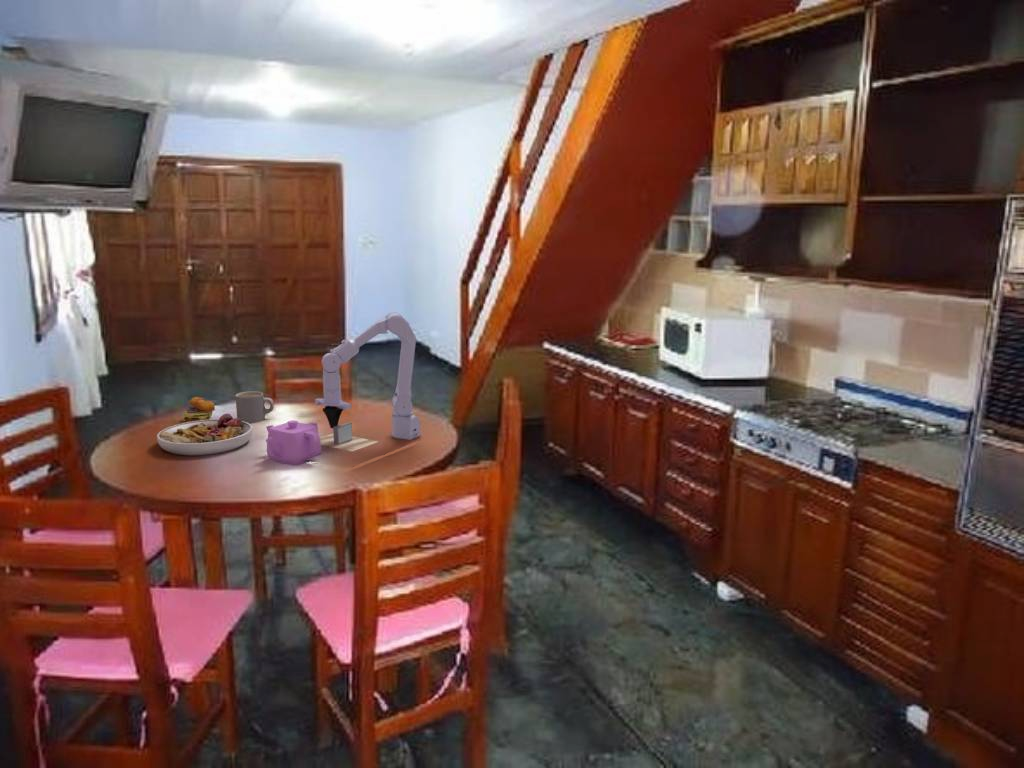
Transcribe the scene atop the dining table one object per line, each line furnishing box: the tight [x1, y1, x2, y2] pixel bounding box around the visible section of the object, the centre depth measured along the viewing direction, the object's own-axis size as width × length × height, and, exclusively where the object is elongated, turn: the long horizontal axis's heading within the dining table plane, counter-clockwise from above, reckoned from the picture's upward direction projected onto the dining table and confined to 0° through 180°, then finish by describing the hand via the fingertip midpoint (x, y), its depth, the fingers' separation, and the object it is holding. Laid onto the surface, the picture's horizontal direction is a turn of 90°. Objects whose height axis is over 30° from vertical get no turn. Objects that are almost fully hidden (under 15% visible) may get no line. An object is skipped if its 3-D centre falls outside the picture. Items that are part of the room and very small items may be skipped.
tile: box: [332, 421, 353, 445], centre depth 253 cm, size 2×7×6 cm, turn 149°
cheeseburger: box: [181, 396, 216, 423], centre depth 282 cm, size 10×11×10 cm
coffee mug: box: [235, 390, 275, 424], centre depth 284 cm, size 13×10×10 cm
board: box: [320, 433, 378, 453], centre depth 254 cm, size 20×13×1 cm, turn 59°
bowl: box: [156, 413, 253, 456], centre depth 253 cm, size 30×30×8 cm
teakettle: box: [265, 420, 322, 466], centre depth 239 cm, size 17×17×12 cm
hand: (333, 427), depth 255 cm, fingers closed
